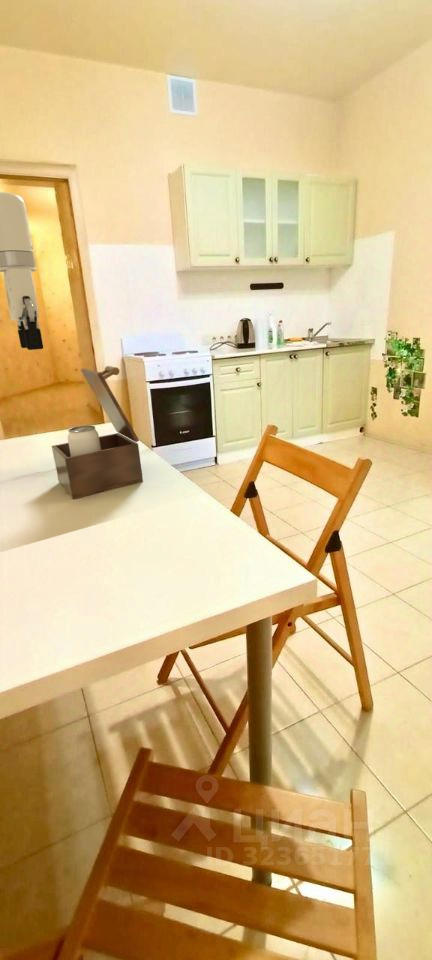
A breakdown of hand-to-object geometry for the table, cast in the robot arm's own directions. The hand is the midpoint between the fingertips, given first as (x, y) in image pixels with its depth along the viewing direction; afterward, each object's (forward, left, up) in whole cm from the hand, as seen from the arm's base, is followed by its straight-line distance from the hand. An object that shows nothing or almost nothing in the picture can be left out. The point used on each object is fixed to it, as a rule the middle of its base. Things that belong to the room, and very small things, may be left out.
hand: (32, 348), depth 99 cm
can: (+4, -14, -29) cm, 32 cm away
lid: (+11, -14, -13) cm, 22 cm away
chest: (+6, -14, -29) cm, 33 cm away
